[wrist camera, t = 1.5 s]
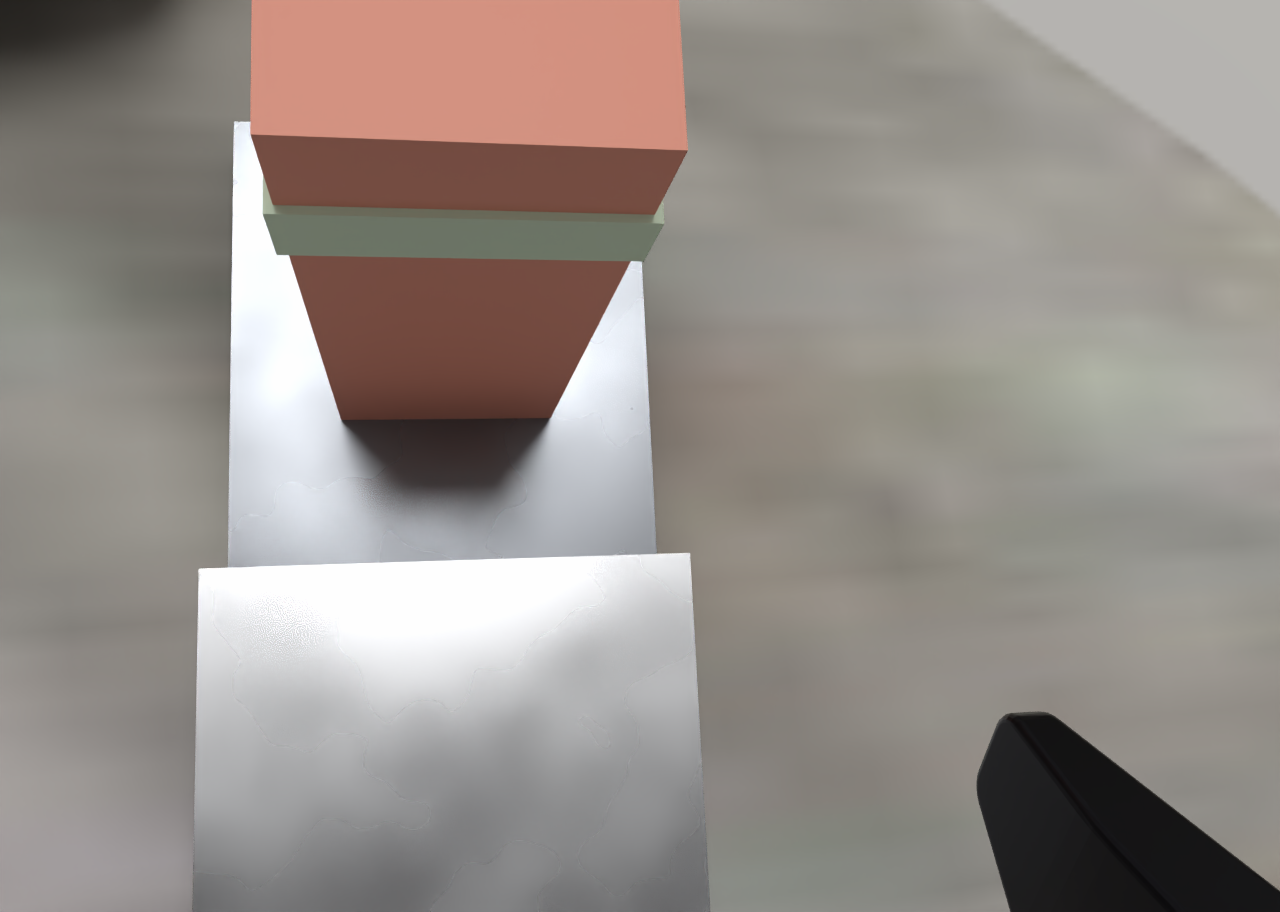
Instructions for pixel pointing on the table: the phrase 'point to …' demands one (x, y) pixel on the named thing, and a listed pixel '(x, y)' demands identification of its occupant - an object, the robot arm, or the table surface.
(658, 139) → the salmon pink rectangular block
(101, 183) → the table surface
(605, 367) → the stand base
